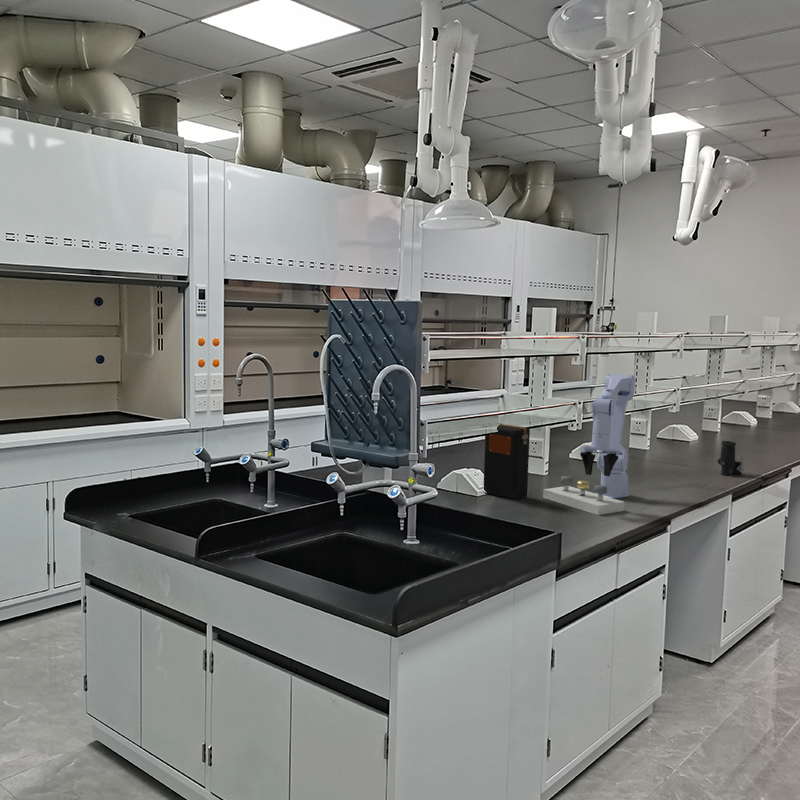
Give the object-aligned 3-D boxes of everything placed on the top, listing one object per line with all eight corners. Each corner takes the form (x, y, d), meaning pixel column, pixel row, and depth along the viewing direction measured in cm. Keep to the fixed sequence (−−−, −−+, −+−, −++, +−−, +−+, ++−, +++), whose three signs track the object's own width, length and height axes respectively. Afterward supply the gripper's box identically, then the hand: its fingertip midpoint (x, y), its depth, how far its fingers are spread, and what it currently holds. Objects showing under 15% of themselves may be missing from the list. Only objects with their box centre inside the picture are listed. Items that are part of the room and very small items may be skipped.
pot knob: (582, 494, 254) (583, 480, 253) (591, 496, 251) (591, 482, 250) (574, 495, 252) (574, 481, 251) (582, 497, 249) (583, 483, 248)
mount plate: (568, 494, 266) (568, 485, 265) (623, 510, 244) (624, 501, 243) (543, 497, 260) (543, 489, 259) (598, 515, 237) (598, 505, 237)
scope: (746, 442, 305) (733, 444, 299) (743, 475, 306) (731, 477, 300) (727, 439, 311) (714, 441, 305) (724, 471, 313) (712, 474, 306)
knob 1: (566, 489, 261) (566, 475, 260) (574, 491, 257) (574, 477, 257) (557, 490, 259) (558, 476, 258) (565, 492, 255) (566, 479, 255)
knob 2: (599, 499, 247) (600, 484, 247) (608, 501, 244) (609, 487, 243) (591, 500, 245) (592, 486, 245) (600, 503, 242) (601, 488, 241)
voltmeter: (529, 497, 260) (532, 427, 257) (515, 501, 253) (518, 429, 251) (494, 489, 270) (496, 422, 268) (479, 493, 264) (482, 424, 262)
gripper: (591, 433, 238) (587, 475, 237) (626, 436, 244) (623, 477, 243) (577, 432, 244) (574, 473, 244) (612, 435, 250) (609, 475, 250)
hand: (597, 475), depth 244 cm, fingers open, 7 cm apart
